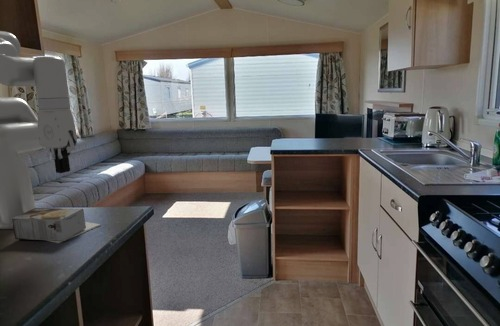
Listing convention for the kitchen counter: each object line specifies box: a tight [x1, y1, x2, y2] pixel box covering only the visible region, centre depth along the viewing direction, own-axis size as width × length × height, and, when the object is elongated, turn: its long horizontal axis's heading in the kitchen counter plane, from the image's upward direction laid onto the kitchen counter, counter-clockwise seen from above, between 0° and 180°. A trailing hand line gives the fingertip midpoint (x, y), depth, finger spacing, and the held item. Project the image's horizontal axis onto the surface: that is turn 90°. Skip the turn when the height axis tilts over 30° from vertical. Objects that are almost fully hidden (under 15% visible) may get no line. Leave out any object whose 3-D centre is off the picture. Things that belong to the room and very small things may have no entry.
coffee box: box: [12, 207, 86, 242], centre depth 103 cm, size 9×6×16 cm
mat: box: [45, 221, 102, 244], centre depth 108 cm, size 16×14×1 cm
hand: (63, 171), depth 101 cm, fingers closed
